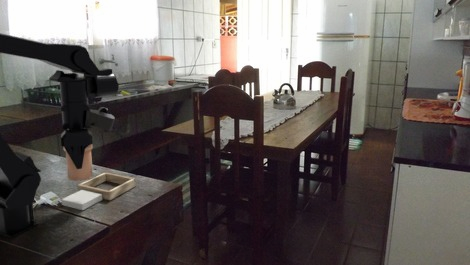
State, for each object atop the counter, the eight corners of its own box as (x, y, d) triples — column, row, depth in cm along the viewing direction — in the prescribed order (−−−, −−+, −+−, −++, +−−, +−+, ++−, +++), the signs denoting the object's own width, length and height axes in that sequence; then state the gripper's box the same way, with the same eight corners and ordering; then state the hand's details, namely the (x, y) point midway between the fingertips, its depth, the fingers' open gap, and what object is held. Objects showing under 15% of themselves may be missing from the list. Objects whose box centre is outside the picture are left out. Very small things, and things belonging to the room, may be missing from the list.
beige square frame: (110, 200, 93) (109, 192, 92) (78, 192, 97) (77, 185, 96) (135, 186, 102) (135, 178, 102) (105, 179, 106) (105, 172, 106)
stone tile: (82, 210, 87) (82, 204, 87) (62, 204, 90) (61, 199, 89) (102, 199, 93) (102, 194, 93) (82, 195, 96) (81, 189, 95)
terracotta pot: (80, 183, 86) (78, 149, 84) (59, 178, 88) (56, 145, 86) (100, 174, 91) (98, 143, 89) (80, 170, 94) (77, 139, 92)
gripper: (115, 106, 80) (118, 174, 84) (108, 93, 97) (111, 150, 100) (58, 108, 76) (64, 179, 79) (61, 94, 92) (66, 154, 96)
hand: (79, 164), depth 89 cm, fingers closed on terracotta pot, 6 cm apart
